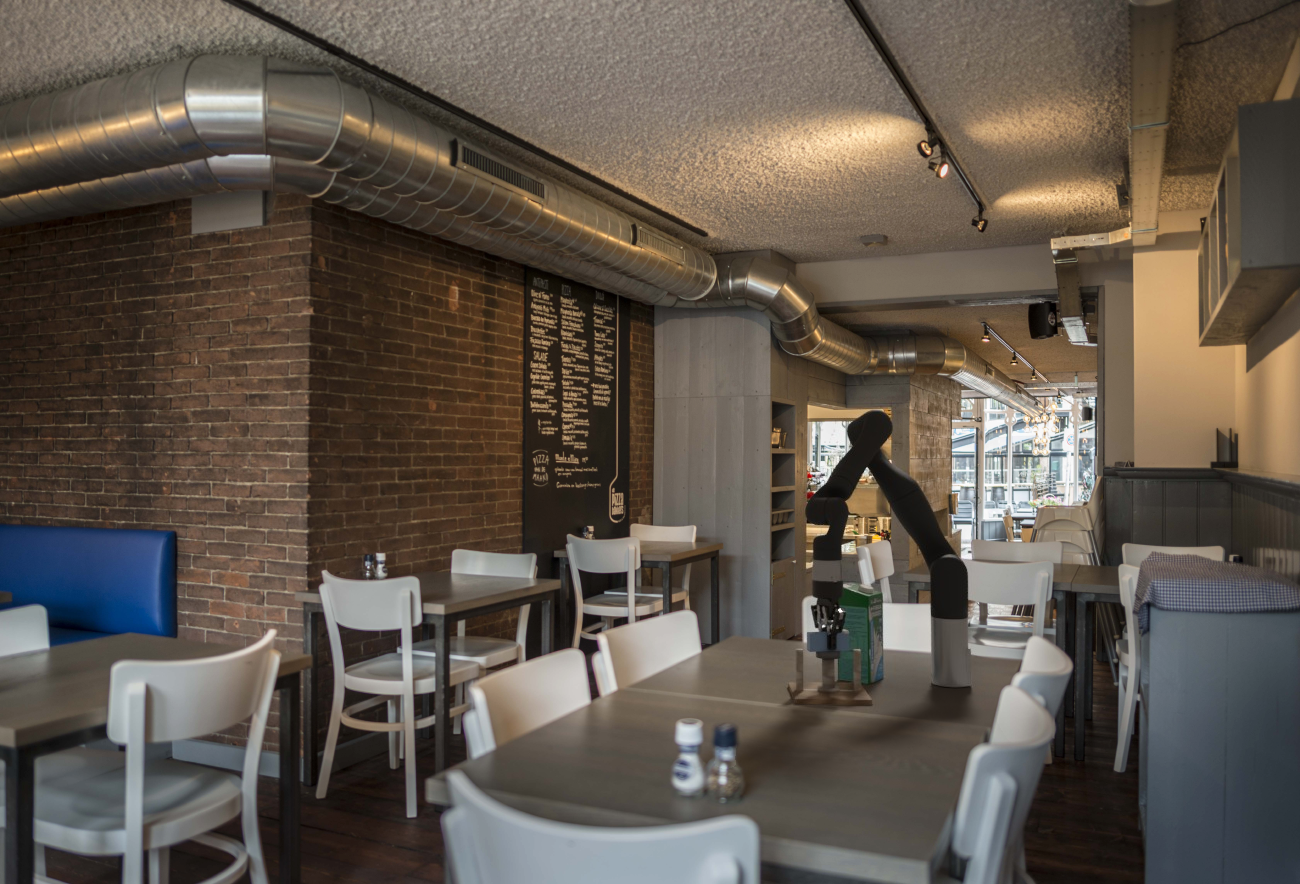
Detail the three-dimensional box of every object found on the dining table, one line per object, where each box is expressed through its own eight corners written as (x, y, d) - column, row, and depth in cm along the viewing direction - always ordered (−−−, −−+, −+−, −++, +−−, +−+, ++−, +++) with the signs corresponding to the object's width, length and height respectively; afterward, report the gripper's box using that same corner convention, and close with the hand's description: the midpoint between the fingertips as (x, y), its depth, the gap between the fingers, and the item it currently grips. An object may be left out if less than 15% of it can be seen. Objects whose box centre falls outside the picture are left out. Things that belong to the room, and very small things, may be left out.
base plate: (859, 687, 237) (859, 643, 238) (872, 704, 219) (871, 656, 220) (788, 686, 238) (787, 642, 239) (795, 704, 220) (794, 656, 221)
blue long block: (804, 655, 232) (804, 629, 232) (843, 653, 233) (843, 628, 233) (812, 659, 226) (812, 633, 226) (852, 658, 227) (851, 632, 227)
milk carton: (869, 684, 241) (868, 587, 242) (837, 679, 246) (836, 584, 247) (883, 678, 248) (882, 583, 249) (852, 673, 254) (851, 581, 254)
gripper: (800, 575, 235) (801, 644, 235) (828, 581, 222) (829, 654, 221) (826, 574, 238) (827, 642, 237) (856, 580, 225) (857, 652, 224)
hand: (828, 648), depth 229 cm, fingers closed on blue long block, 3 cm apart
